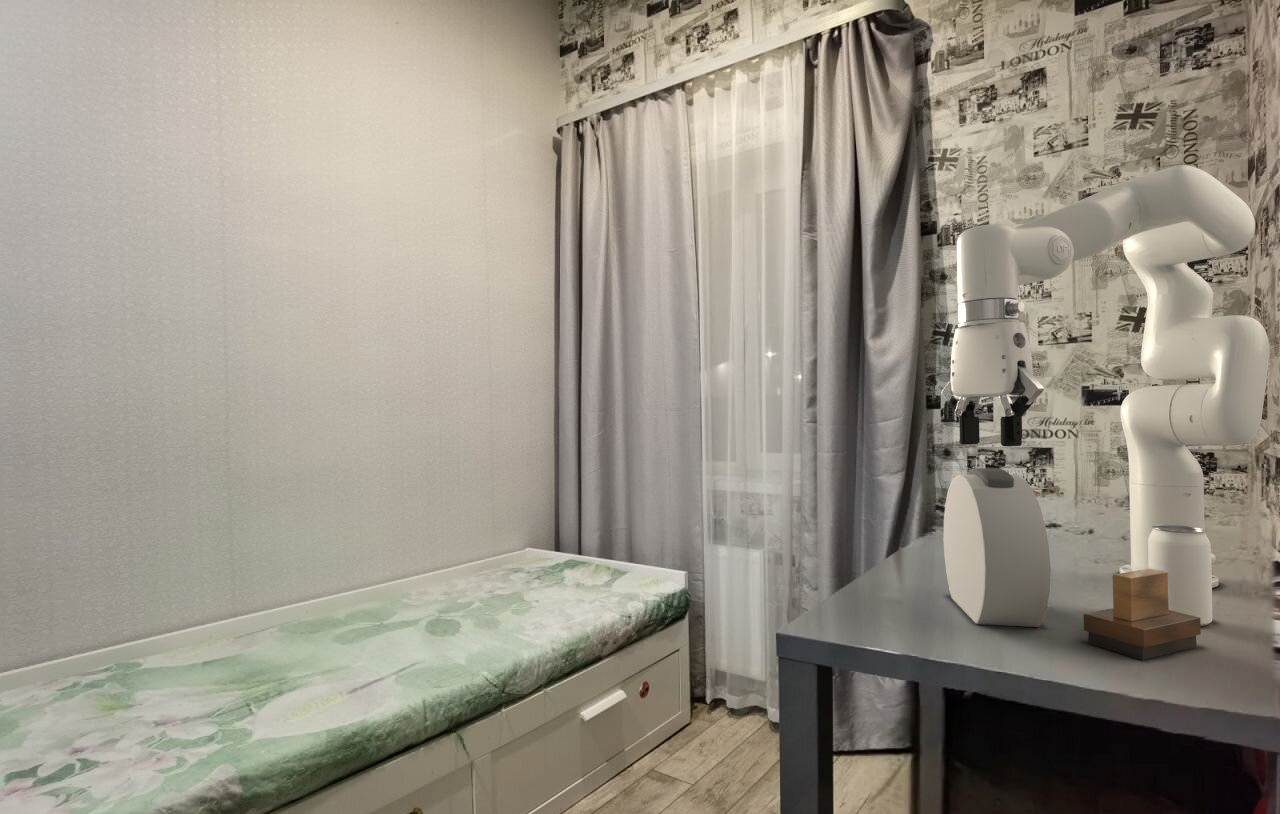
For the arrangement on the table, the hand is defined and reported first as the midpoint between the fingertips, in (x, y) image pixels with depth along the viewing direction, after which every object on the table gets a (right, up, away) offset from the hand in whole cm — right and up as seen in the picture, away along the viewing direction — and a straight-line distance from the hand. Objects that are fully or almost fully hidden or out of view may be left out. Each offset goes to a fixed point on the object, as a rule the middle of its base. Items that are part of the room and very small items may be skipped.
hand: (989, 443), depth 92 cm
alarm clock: (0, -23, 0) cm, 23 cm away
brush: (+10, -23, -14) cm, 29 cm away
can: (+23, -23, -5) cm, 33 cm away
